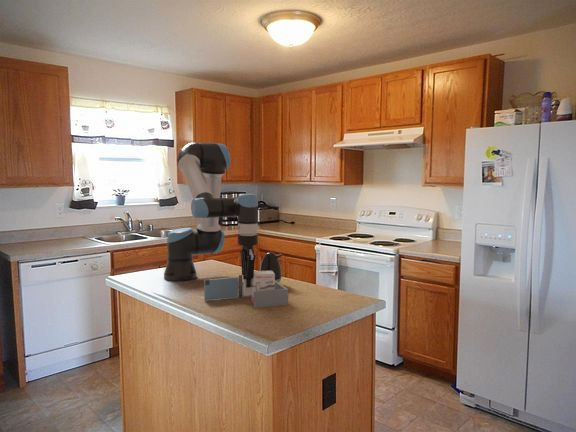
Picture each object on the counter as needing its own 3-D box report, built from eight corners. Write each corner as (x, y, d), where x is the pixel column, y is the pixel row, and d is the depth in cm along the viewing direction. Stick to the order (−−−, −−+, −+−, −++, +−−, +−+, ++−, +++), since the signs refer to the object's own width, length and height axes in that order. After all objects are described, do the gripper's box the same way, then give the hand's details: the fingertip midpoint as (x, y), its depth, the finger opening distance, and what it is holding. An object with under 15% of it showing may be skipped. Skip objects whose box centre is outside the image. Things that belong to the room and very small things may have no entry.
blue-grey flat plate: (237, 296, 169) (237, 277, 168) (237, 297, 168) (237, 277, 167) (204, 299, 164) (204, 279, 163) (204, 300, 163) (204, 280, 162)
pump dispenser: (279, 288, 183) (279, 254, 182) (256, 287, 185) (256, 253, 184) (284, 283, 193) (284, 250, 192) (262, 281, 195) (262, 249, 194)
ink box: (252, 304, 159) (252, 274, 158) (250, 301, 164) (250, 271, 163) (275, 303, 161) (275, 273, 160) (272, 299, 166) (272, 270, 165)
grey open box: (238, 297, 169) (238, 275, 169) (273, 293, 175) (273, 272, 174) (249, 308, 154) (249, 284, 154) (288, 304, 160) (288, 281, 159)
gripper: (233, 232, 165) (233, 291, 167) (242, 237, 153) (242, 300, 155) (252, 231, 167) (251, 290, 169) (262, 236, 155) (261, 298, 157)
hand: (247, 294), depth 162 cm, fingers closed
